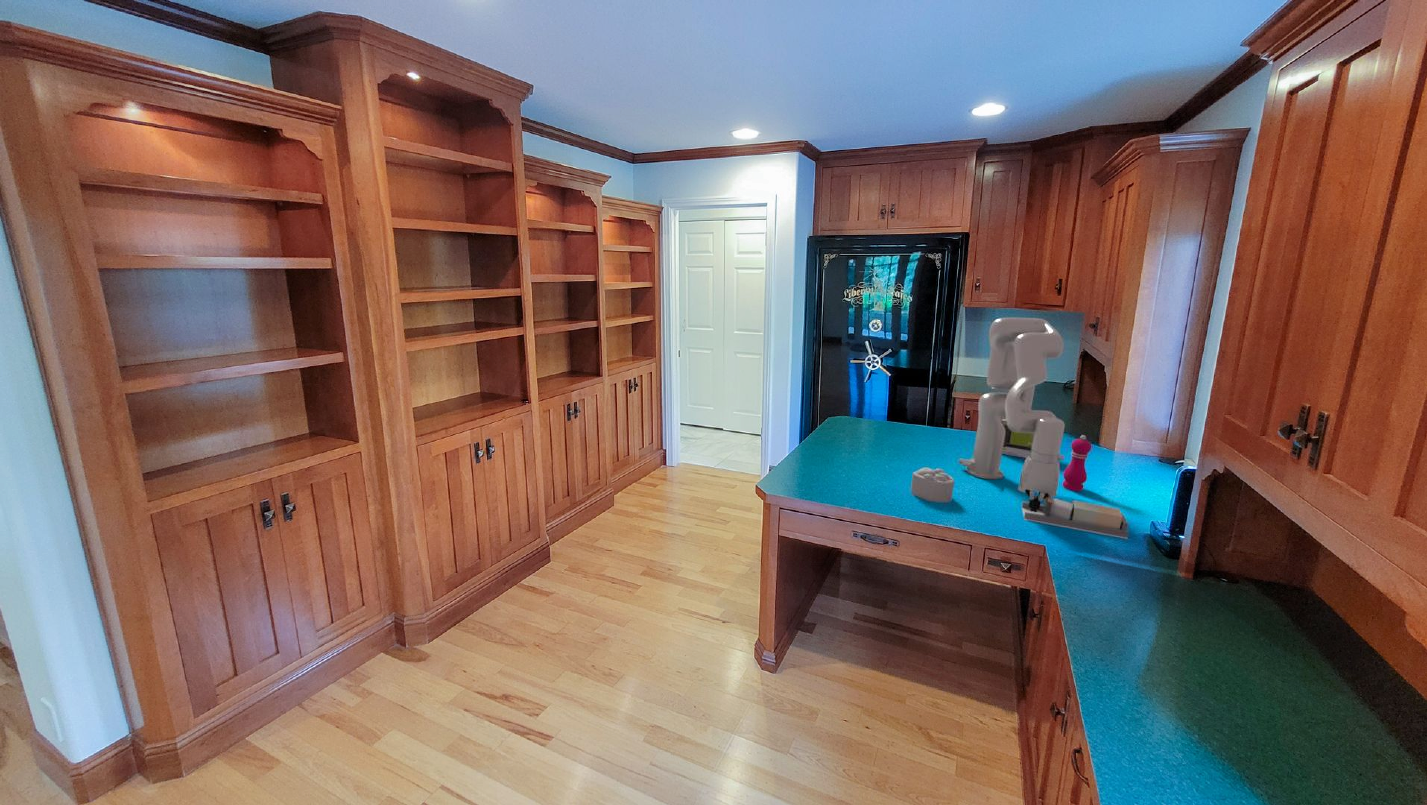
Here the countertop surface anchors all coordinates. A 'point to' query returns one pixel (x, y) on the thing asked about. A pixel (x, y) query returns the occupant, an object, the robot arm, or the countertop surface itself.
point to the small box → (1061, 509)
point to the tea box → (1016, 442)
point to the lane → (1074, 523)
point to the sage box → (1084, 512)
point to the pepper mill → (1077, 465)
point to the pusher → (1047, 506)
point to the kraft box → (1109, 517)
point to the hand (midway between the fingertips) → (1033, 510)
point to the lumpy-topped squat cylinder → (932, 485)
